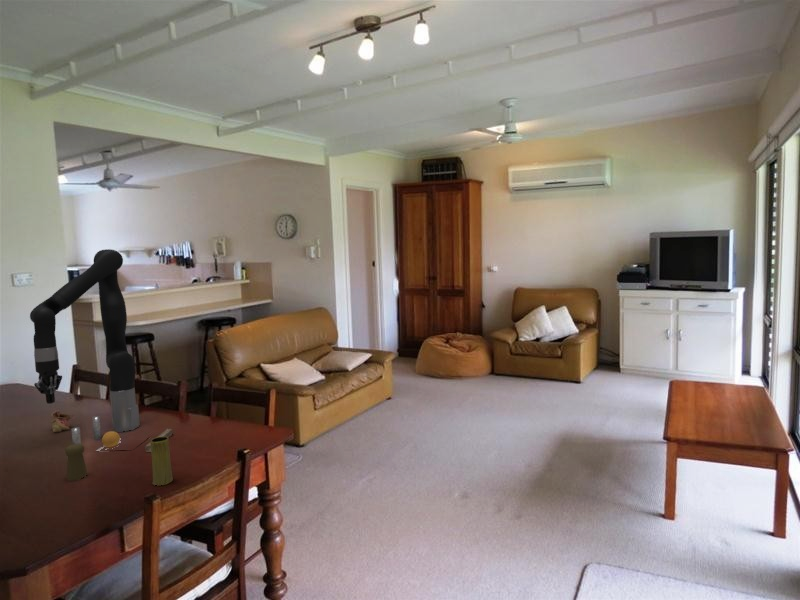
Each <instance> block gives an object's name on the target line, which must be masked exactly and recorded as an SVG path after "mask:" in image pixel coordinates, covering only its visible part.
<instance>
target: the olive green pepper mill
mask: <svg viewBox="0 0 800 600" xmlns="http://www.w3.org/2000/svg"><path fill="white" fill-rule="evenodd" d="M84 452H85V447H84V445H83V444H82V443H81V444H73V443H72V444H70V445H69V446H67V447H66V449H65V455H66V456H67V469H66V481H68V482H74V481H75V480H76V481H79V480H78V479H80V480H82V479H81V478H83V477H85V476H86V475H87V474H88V475H89V473H88V470H87V466H86V463H85V459H84V456H83V455H84ZM85 478H86V477H85ZM83 479H84V478H83ZM76 481H75V482H76Z"/></svg>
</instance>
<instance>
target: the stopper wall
mask: <svg viewBox="0 0 800 600" xmlns="http://www.w3.org/2000/svg"><path fill="white" fill-rule="evenodd" d="M172 434H173V428H166V430H164V431H163V432H161V433H160V434H159V435H158V436H157V437H161V436H166V437H169V436H171V435H172ZM172 436H173V435H172ZM172 436H171V437H172ZM144 448H145V449H144V450H145V453H146V452H151V441H150V442H149V443H147V444H146V445H145V446H144Z"/></svg>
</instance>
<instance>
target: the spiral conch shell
mask: <svg viewBox="0 0 800 600" xmlns="http://www.w3.org/2000/svg"><path fill="white" fill-rule="evenodd" d="M74 416H75V415H74V414H73V413H72V414H67V413H62V412H61V411H60V410H58V409H57V410H55V411H54V412H52V413H51V415H50V419H51V424H52V426H51V429H52V432H53V433H59V432H62V430H63V431H64V430H69V431H70V430H71V428H70V426H71V423H70V422H69V421H70V420H71V419H72V418H73V417H74Z"/></svg>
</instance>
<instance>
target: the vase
mask: <svg viewBox="0 0 800 600" xmlns="http://www.w3.org/2000/svg"><path fill="white" fill-rule="evenodd" d="M150 442H151V454H150V455H151V464H152V465H151V468H152V481H151V482H152V485H153V486H155V485H157V486H156V487H162V486H167V485H169V484H171V483H172V482H173V481H174V478H173V473H172V472H173V471H172V470H173V469H172V463H171V453H170V442H169V438H168V437H166V436H161V437H158V436H156V437H153V438H151V440H150ZM161 485H162V486H161Z"/></svg>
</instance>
